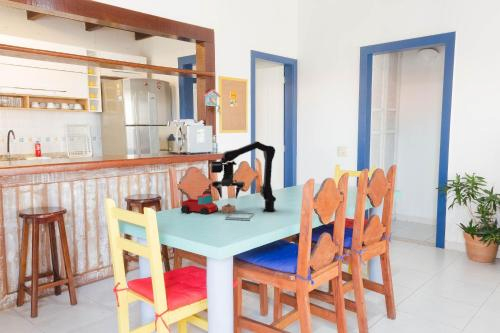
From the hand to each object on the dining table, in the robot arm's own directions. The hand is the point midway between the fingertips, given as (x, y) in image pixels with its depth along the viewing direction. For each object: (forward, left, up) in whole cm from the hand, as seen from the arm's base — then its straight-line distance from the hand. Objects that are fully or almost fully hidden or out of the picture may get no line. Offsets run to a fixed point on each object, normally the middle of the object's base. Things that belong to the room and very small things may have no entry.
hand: (228, 198), depth 232 cm
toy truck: (+4, -17, -9) cm, 19 cm away
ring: (0, 0, -8) cm, 8 cm away
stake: (0, 0, -9) cm, 9 cm away
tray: (+12, +10, -9) cm, 18 cm away
